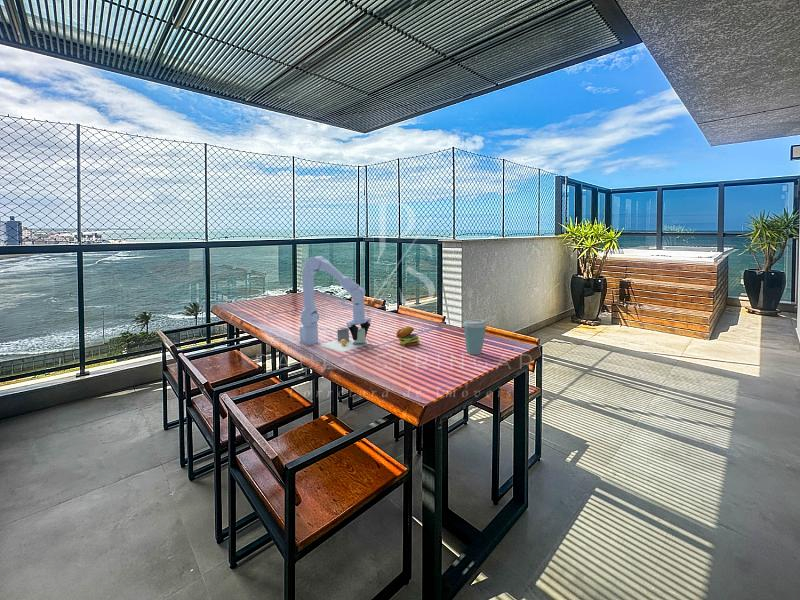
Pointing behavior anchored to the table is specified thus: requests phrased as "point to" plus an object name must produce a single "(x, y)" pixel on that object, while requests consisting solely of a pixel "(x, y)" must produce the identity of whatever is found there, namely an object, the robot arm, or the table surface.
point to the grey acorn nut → (343, 334)
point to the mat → (339, 347)
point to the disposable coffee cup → (474, 335)
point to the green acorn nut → (360, 335)
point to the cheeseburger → (407, 336)
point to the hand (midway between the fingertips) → (359, 338)
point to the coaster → (359, 343)
